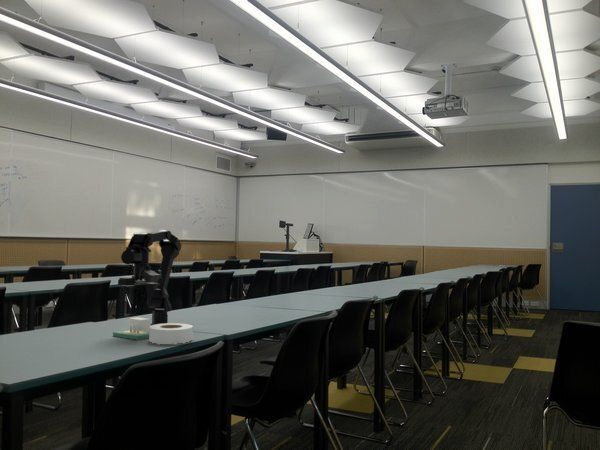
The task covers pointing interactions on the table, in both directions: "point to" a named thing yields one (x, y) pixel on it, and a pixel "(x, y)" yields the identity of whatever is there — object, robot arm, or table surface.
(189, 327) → the roll of tape
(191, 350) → the table surface
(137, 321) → the block
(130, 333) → the header board
